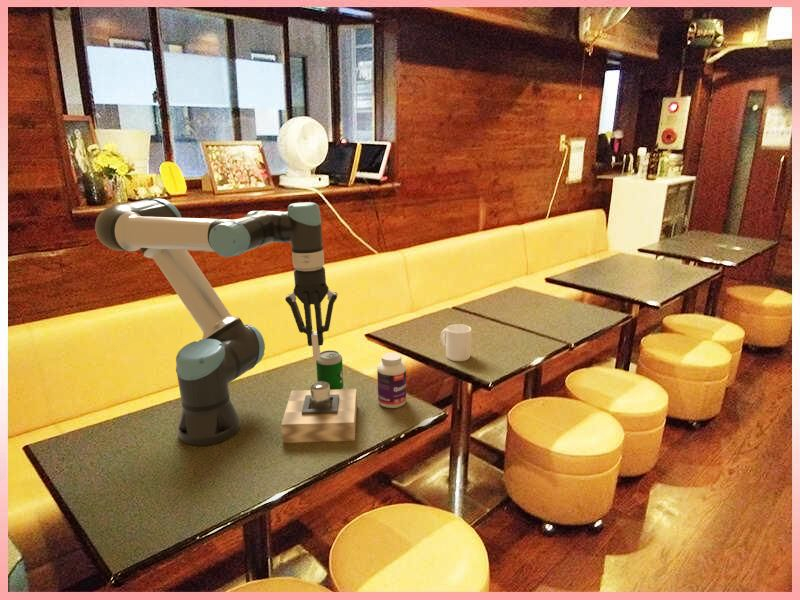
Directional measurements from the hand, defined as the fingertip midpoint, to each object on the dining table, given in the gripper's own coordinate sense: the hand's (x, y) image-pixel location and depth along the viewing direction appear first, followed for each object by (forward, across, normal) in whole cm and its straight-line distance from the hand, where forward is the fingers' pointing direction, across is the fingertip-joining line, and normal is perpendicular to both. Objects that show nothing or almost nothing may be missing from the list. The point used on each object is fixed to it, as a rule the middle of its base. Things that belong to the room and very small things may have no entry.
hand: (316, 356), depth 143 cm
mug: (+20, +40, +43) cm, 62 cm away
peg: (+14, 0, 0) cm, 14 cm away
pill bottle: (+20, +19, +10) cm, 29 cm away
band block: (+19, 0, 0) cm, 19 cm away
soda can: (+19, +1, +18) cm, 27 cm away
